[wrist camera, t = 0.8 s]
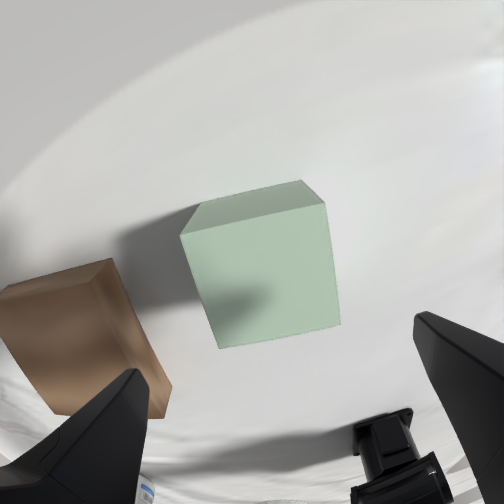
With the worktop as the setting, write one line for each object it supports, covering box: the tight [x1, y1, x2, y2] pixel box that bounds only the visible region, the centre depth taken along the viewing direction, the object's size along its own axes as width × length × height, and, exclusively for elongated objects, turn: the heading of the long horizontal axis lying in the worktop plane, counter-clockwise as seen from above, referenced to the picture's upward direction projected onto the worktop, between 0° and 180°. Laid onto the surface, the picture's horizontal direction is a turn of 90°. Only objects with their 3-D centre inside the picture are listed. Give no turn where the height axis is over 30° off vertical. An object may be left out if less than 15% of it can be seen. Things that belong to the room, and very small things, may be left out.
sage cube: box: [179, 180, 341, 349], centre depth 16 cm, size 6×6×6 cm
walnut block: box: [0, 258, 172, 419], centre depth 20 cm, size 12×12×4 cm
